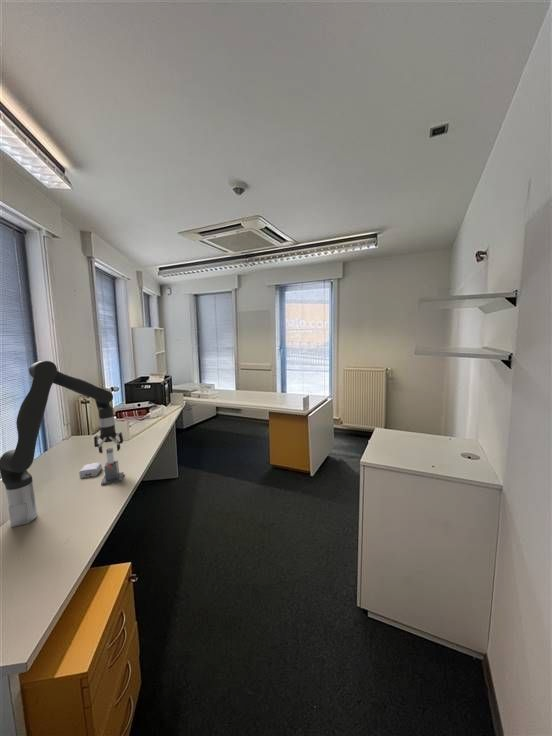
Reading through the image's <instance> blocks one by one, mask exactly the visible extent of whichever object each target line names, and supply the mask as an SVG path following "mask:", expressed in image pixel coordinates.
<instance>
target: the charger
mask: <svg viewBox="0 0 552 736" xmlns="http://www.w3.org/2000/svg"><path fill="white" fill-rule="evenodd" d="M102 469H103V468H102V463H101V462H92V463H88V464H84V466H82V468H81V469H80V470H79V472H78V473H79V474H78V475H79V478H80V479H83V477H85V478H89V476H92V477H96V475H97V476H98V474H99V473H100V472H101V470H102Z"/></svg>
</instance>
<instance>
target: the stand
mask: <svg viewBox="0 0 552 736" xmlns="http://www.w3.org/2000/svg"><path fill="white" fill-rule="evenodd" d="M104 474H105V475H104V476H103V479H102V481H101V482H100V484H101V485H100V486H102V485H103V486H106V485H107V484H108V485H112V483H114V484H118V482H119V483H122V480H123V479H124V476H125V473H124V471H122V472H120V467H119V461H118V460H115V464H113V465H108V461H107V462H106V463H105V464H104Z"/></svg>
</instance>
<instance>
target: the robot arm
mask: <svg viewBox="0 0 552 736" xmlns="http://www.w3.org/2000/svg"><path fill="white" fill-rule="evenodd" d="M28 373H29V375H30V376H31V377H32V383H31V387H30V389H29V391H28V392H27V395H26V396H25V397H24V399H23V400H22V403H21V405H20V407H19V409H18V413H17V417H16V422H15V423H16V430H17V438H18V439H17V442H16V447H15V449H10V450H8V451H6V452H4V453H3V454H2V455H1V456H0V478H1V481H2V483H3V484H4V487H5V491H6V499H7V507H8V513H9V521H10V526H11V528H15V527H19V526H24V525H27V524H29V523H31V522H32V521H34V520H35V519H37V517H38V510H37V503H36V496H35V489H34V481H33V476H32V475H31V473H29V471H28V469H30V468H31V466H32V464H33V462H34V458H35V453H36V446H37V441H38V437H39V432H40V429H41V426H42V425H41V424H42V423H43V418H44V416H45V413H46V407H47V403H48V400H49V395H50V392H51V388H52V386H53V384H54V385H56V386H60V387H63V388H66V389H68V390H70V391H72V392H75V393H77V394H80V395H82V396H84V397H88V398H91V399H93V400H94V401H95V405H96V407H97V410H98V413H97V414H98V423H99V424H98V425H99V434H100V435H95V436H94V437H93V442H94V444H93V445H94V448H98V453H100V454H103V452H104V451H103V444H104V443H111V442H113V443H115V445H116V450H117V452H119V451H120V450H121V444H123V443H124V436H123V433H122V432H121V431H120V432H119V433H118V432H116V426H115V425H116V422H115V418H114V412H113V407H112V406H111V404H110V403H111V402H112V401H113V400H114V394H113V393H112V392H111V391H109V390H107V389H104V388H102V387H98V386H96V385H95V384H92V383H90V382H88V381H86V380H83V379H81V378H78V377H73V376H72V375H68V374H66V373H63V372H60V371H59V370H58V367H57V365H56V364H55V363H54V362H53V361H50V360H42V361H40V360H39V361H37V362H34V363H32V364H31V365H30V366H29V368H28ZM117 437H118V438H119V439H118V438H117ZM99 439H100V440H101V442H100V443H99Z"/></svg>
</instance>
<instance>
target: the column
mask: <svg viewBox="0 0 552 736" xmlns="http://www.w3.org/2000/svg"><path fill="white" fill-rule="evenodd" d="M106 459H107V460H106V461H107V462H108V465H113V464H115V461H116V459H115V452H114V447H107V448H106Z"/></svg>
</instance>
